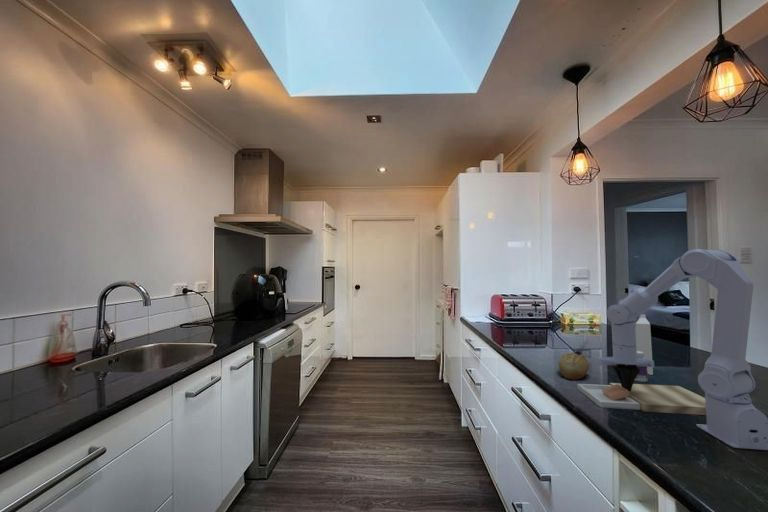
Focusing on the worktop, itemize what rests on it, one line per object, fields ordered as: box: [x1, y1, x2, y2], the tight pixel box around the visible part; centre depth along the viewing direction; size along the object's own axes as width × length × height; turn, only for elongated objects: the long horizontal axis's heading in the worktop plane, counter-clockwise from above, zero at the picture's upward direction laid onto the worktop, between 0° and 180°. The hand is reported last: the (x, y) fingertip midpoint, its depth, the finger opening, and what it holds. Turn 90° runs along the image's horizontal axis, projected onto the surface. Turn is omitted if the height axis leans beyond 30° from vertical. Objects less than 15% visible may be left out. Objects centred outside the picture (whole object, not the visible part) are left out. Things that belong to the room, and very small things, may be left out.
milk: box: [635, 313, 654, 376], centre depth 115 cm, size 6×6×22 cm
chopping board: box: [609, 382, 706, 416], centre depth 89 cm, size 20×16×2 cm
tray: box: [576, 383, 641, 411], centre depth 91 cm, size 10×14×2 cm
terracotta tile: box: [602, 384, 631, 400], centre depth 91 cm, size 5×5×2 cm
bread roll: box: [558, 352, 590, 381], centre depth 112 cm, size 10×15×8 cm, turn 142°
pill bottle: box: [634, 351, 649, 383], centre depth 107 cm, size 5×5×10 cm
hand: (626, 389), depth 90 cm, fingers closed
